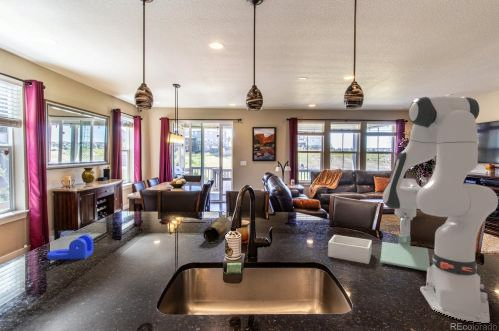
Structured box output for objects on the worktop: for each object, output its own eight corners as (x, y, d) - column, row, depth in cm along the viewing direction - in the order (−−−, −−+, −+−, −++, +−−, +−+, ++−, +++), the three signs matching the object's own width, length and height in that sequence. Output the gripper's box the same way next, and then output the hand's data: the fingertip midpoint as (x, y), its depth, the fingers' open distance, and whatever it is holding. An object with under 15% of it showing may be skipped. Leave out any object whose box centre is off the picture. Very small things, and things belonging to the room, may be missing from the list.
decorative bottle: (222, 239, 145) (244, 219, 189) (213, 222, 146) (236, 206, 190) (206, 248, 147) (231, 226, 191) (197, 230, 148) (224, 213, 192)
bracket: (93, 252, 133) (93, 234, 133) (85, 258, 125) (84, 239, 124) (54, 253, 131) (53, 235, 131) (42, 260, 123) (42, 240, 122)
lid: (430, 272, 112) (431, 262, 110) (380, 263, 121) (380, 253, 119) (426, 247, 126) (427, 238, 125) (382, 241, 135) (382, 232, 134)
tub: (368, 263, 122) (369, 248, 121) (328, 256, 130) (328, 242, 130) (371, 254, 134) (371, 240, 134) (334, 248, 142) (334, 234, 142)
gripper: (414, 216, 118) (413, 248, 118) (412, 208, 136) (411, 236, 136) (397, 215, 121) (396, 245, 122) (397, 207, 139) (396, 234, 139)
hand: (404, 240), depth 129 cm, fingers closed on lid
